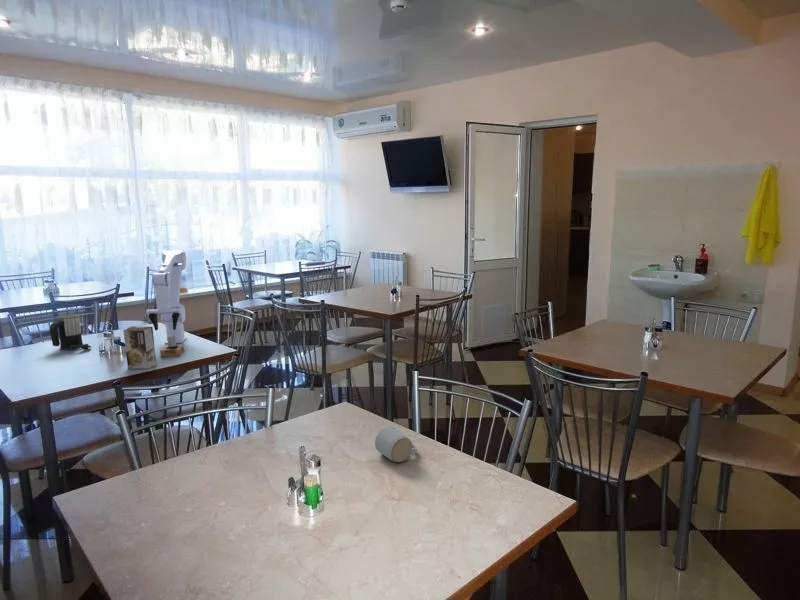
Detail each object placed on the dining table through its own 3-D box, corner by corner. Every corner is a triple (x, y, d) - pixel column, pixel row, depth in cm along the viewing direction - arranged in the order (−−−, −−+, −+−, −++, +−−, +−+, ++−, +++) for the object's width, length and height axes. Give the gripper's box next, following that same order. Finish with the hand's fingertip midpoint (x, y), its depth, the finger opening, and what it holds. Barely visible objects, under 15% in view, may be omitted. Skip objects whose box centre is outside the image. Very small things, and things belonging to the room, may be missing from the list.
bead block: (165, 351, 237) (165, 345, 236) (184, 350, 238) (184, 344, 237) (160, 357, 229) (160, 350, 228) (180, 356, 230) (179, 349, 229)
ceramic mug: (392, 468, 136) (392, 440, 135) (374, 455, 143) (374, 429, 141) (423, 456, 143) (424, 429, 141) (405, 445, 149) (405, 419, 148)
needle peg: (170, 353, 235) (168, 335, 233) (177, 352, 235) (175, 335, 233) (168, 355, 232) (166, 337, 230) (175, 354, 232) (173, 337, 230)
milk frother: (67, 344, 249) (63, 313, 246) (102, 343, 249) (98, 313, 246) (49, 353, 235) (44, 320, 232) (85, 352, 235) (81, 320, 232)
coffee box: (157, 364, 219) (153, 326, 216) (148, 369, 213) (144, 330, 210) (136, 363, 220) (132, 325, 217) (126, 368, 214) (122, 329, 211)
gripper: (142, 302, 230) (145, 332, 233) (178, 301, 232) (180, 331, 235) (147, 298, 237) (150, 328, 239) (182, 298, 239) (184, 327, 242)
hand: (165, 329), depth 238 cm, fingers open, 7 cm apart
